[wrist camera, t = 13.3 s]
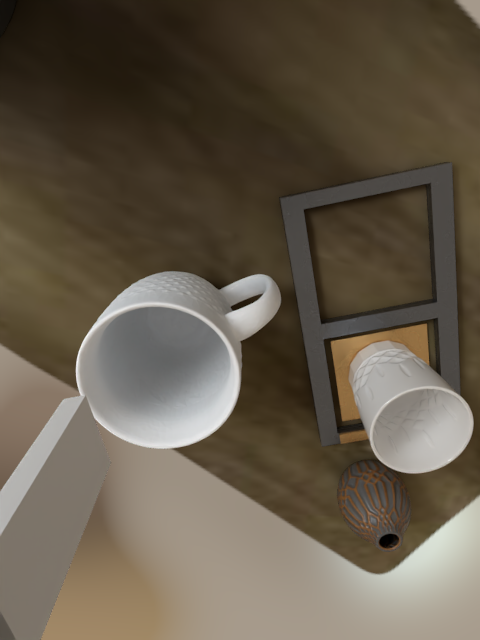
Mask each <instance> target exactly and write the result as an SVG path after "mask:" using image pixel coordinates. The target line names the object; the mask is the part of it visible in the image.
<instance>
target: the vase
mask: <svg viewBox="0 0 480 640" xmlns="http://www.w3.org/2000/svg"><path fill="white" fill-rule="evenodd" d="M337 498H338V504H339V508H340V511H341V514H342V516H343V518H344V520H345V522H346V523H347V525H348V526H349V527H350V528H351V530H352V531H353V532H354V533H355V534H356V535H358V536H359V537H361V538H362V539H364V540H366V541H368V542H370V543H373V544H374V545H375V546H376V547H377V548H379V549H380V550H382V551H386V552H390V551H394V550H396V549H398V548H399V547H400V546H401V544H402V542H403V535H404V533H405V531H406V529H407V527H408V525H409V522H410V519H411V501H410V497H409V493H408V491H407V488H406V486H405V485H404V483H403V481H402V480H401V478H400V477H399V476H398V474H397V473H396V472H395V471H394V470H392V469H391V468H389V467H388V466H386V465H385V464H383V463H381V462H378V461H374V460H363V461H359V462H356V463H354V464H352V465H351V466H349V467H348V468H347V469H346V470H345V471H344V473H343V474H342V476H341V478H340V481H339V484H338V490H337Z"/></svg>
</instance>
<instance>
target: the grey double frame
mask: <svg viewBox="0 0 480 640" xmlns="http://www.w3.org/2000/svg"><path fill="white" fill-rule="evenodd" d="M423 184H426V188H427V206H428V223H429V241H430V259H431V277H432V294H433V299H429V300H424V301H419V302H414V303H409V304H403V305H398V306H393V307H388V308H382V309H377V310H372V311H367V312H361V313H356V314H351V315H346V316H341V317H335V318H330V319H325V320H320V314H319V308H318V301H317V295H316V288H315V282H314V275H313V268H312V262H311V255H310V249H309V242H308V236H307V229H306V222H305V216H304V209H308V208H312V207H317V206H322V205H327V204H332V203H336V202H341V201H346V200H351V199H356V198H360V197H365V196H370V195H375V194H380V193H384V192H389V191H394V190H399V189H404V188H408V187H413V186H418V185H423ZM279 199H280V205H281V211H282V217H283V223H284V229H285V235H286V241H287V247H288V253H289V258H290V264H291V270H292V276H293V282H294V288H295V294H296V300H297V306H298V312H299V317H300V323H301V329H302V335H303V341H304V347H305V353H306V359H307V365H308V371H309V377H310V382H311V388H312V394H313V400H314V406H315V412H316V418H317V424H318V430H319V436H320V441H321V445H322V447H323V446H328V445H334V444H340V443H341V444H344V443H350V442H355V441H361V440H367V439H368V436H367V433H366V431H365V428H364V425H363V423H359V424H354V425H348V426H342V427H337V426H336V420H335V413H334V406H333V400H332V393H331V387H330V380H329V374H328V367H327V360H326V354H325V347H324V341H323V339H328V338H333V337H338V336H344V335H349V334H354V333H360V332H365V331H370V330H375V329H381V328H386V327H391V326H397V325H402V324H407V323H413V322H418V321H423V320H429V319H434V330H435V348H436V365H437V373H438V374H439V375H440V376H441V377H442V378H443V379H444V380H445V381H446V382H447V383H448V384H449V385H450V386H451V387H452V388H453V389H454V390H455V391H456V392H457V393H458V394H459V395H460V368H459V340H458V313H457V285H456V258H455V230H454V203H453V175H452V162H444V163H439V164H434V165H430V166H425V167H420V168H415V169H411V170H406V171H401V172H397V173H392V174H387V175H382V176H378V177H373V178H368V179H363V180H359V181H354V182H349V183H344V184H340V185H335V186H330V187H325V188H321V189H316V190H311V191H306V192H302V193H297V194H292V195H287V196H283V197H279ZM387 340H389V341H393V342H397V343H401V344H404V345H405V346H406V347H407V348H409V349H410V350H411V351H412V352H413V353H414V354H415V355H416V356H417V357H419V358H421V359H422V360H423V361H424V362H425V363H426V364H428V365H429V351H428V335H427V323H422V324H417V325H412V326H406V327H401V328H396V329H390V330H385V331H380V332H374V333H369V334H364V335H358V336H353V337H348V338H343V339H337V340H332V341H330V342H331V349H332V355H333V362H334V369H335V376H336V383H337V390H338V396H339V403H340V410H341V417H342V421H347V420H353V419H359V418H360V415H359V411H358V409H357V406H356V402H355V400H354V393H353V390H352V387H351V385H350V382H349V380H348V377H349V369H350V364H351V362H352V361H353V359H354V358H355V356H356V355H357V353H358V352H359V351H361V350H362V349H364V348H365V347H367V346H368V345H370V344H372V343H376V342H381V341H387Z"/></svg>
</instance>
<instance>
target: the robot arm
mask: <svg viewBox="0 0 480 640" xmlns="http://www.w3.org/2000/svg"><path fill="white" fill-rule="evenodd" d="M15 4H16V0H0V37H1V35H2V34H3V32H4V31H5V29H6V27H7V25H8V23H9V21H10V19H11V16H12V14H13V11H14V8H15ZM110 464H111V461H110V459H109V456H108V453H107V451H106V448H105V445H104V443H103V440H102V437H101V435H100V432H99V430H98V427H97V424H96V421H95V419H94V416H93V413H92V411H91V408H90V405H89V402H88V400H87V397H86V395H83V396H78V397H73V398H68V399H63V401H62V402H61V404H60V405H59V406H58V408H57V410H56V411H55V412H54V414H53V415H52V417H51V418H50V420H49V421H48V423H47V424H46V426H45V427H44V429H43V430H42V431H41V433H40V434H39V436H38V437H37V439H36V440H35V441H34V443H33V444H32V446H31V447H30V449H29V450H28V452H27V453H26V455H25V456H24V458H23V459H22V460H21V462H20V463H19V465H18V466H17V468H16V469H15V471H14V472H13V474H12V475H11V477H10V478H9V480H8V481H7V482H6V484H5V485H4V487H3V488H2V490H1V491H0V640H41V637H42V635H43V632H44V630H45V627H46V625H47V622H48V620H49V617H50V615H51V612H52V609H53V607H54V605H55V602H56V600H57V597H58V594H59V592H60V590H61V587H62V584H63V582H64V579H65V577H66V574H67V572H68V569H69V567H70V564H71V562H72V559H73V557H74V554H75V552H76V549H77V547H78V544H79V541H80V539H81V537H82V534H83V532H84V529H85V527H86V524H87V521H88V519H89V517H90V514H91V512H92V509H93V507H94V504H95V502H96V499H97V496H98V494H99V491H100V489H101V486H102V484H103V481H104V479H105V476H106V474H107V471H108V469H109V466H110Z"/></svg>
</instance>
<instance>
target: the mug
mask: <svg viewBox="0 0 480 640" xmlns="http://www.w3.org/2000/svg"><path fill="white" fill-rule="evenodd" d="M259 294H263V295H262V296H261V297H260V298H259V299H258V300H257V301H255V302H254V303H252V304H250V305H247V306H245V307H243V308H240V309H238V310H235V311H232V309H231V306H233V305H234V304H236V303H238V302H241V301H243V300H246V299H248V298H250V297H253V296H255V295H259ZM280 304H281V294H280V291H279V288H278V286H277V284H276V283H275V281H274V280H273V279H272V278H271V277H269V276H267V275H263V274H257V275H252V276H249V277H246V278H243V279H241V280H239V281H236V282H234V283H232V284H230V285H228V286H226V287H224V288H222V289H220V290H218V289H217V288H215V287H214V286H213V285H212V284H210V283H209V282H208V281H206V280H205V279H203V278H201V277H199V276H196V275H194V274H190V273H185V272H174V271H171V272H163V273H157V274H153V275H150V276H148V277H146V278H144V279H141V280H139V281H138V282H136V283H134V284H132V285H131V286H130V287H129V288H127V289H125V290H124V291H123V292H122V293H121V294H120V295H118V296H117V298H116V299H115V300H114V301H113V302H112V303H111V304H110V306H109V307H107V308H106V310H105V311H104V313H102V314H101V315H100V317H99V318H98V320H97V322H96V323H95V324H94V325H93V327H92V328H91V330H90V331H89V332H88V334H87V335H86V337H85V339H84V340H83V343H82V345H81V347H80V350H79V353H78V357H77V363H76V379H77V385H78V389H79V392H80V395H81V396H83V395H86V397H87V400H88V402H89V405H90V408H91V411H92V413H93V416H94V418H95V419H96V420H97V421H98V422H99V423H100V424H101V425H102V426H103V427H104V428H106V429H107V430H108V431H110V432H111V433H112V434H114V435H116V436H117V437H119V438H121V439H123V440H125V441H127V442H130V443H132V444H136V445H139V446H144V447H148V448H159V449H168V448H177V447H182V446H187V445H190V444H193V443H196V442H198V441H200V440H202V439H204V438H206V437H208V436H209V435H211V434H212V433H214V432H215V431H216V430H217V429H219V428H220V427H221V426H222V425H223V423H224V422H225V421H226V420H227V419H228V417H229V416H230V414H231V413H232V411H233V409H234V407H235V405H236V402H237V399H238V396H239V392H240V386H241V368H242V362H241V359H242V353H241V342H240V341H242V340H244V339H246V338H248V337H250V336H251V335H253V334H255V333H256V332H257V331H259V330H260V329H261V328H262V327H264V326H265V325H266V324H267V323H268V322H269V321H270V320H271V319H272V318H273V317H274V315H275V314H276V313H277V311H278V309H279V307H280Z"/></svg>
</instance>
